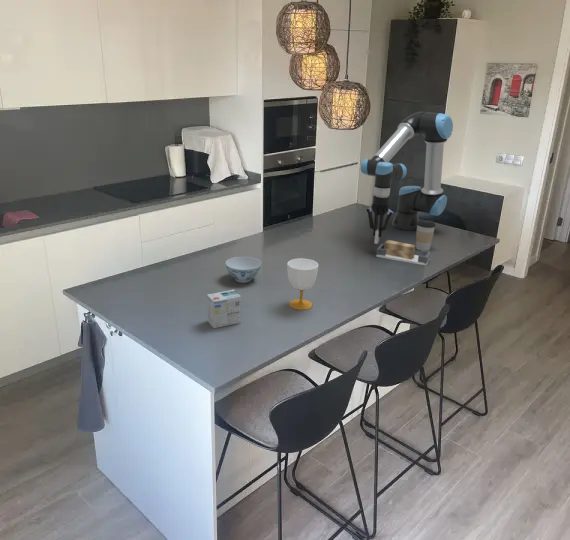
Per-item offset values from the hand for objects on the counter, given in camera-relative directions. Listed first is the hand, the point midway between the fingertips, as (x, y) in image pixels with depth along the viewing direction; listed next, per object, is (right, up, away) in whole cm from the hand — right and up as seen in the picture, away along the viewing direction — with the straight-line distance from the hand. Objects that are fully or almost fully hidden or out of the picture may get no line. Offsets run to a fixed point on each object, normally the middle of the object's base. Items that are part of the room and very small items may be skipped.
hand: (376, 242), depth 263 cm
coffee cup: (+25, -3, +11) cm, 28 cm away
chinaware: (-62, -18, -34) cm, 73 cm away
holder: (+12, -8, -3) cm, 15 cm away
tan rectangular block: (+10, -6, -3) cm, 12 cm away
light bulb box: (-67, -32, -70) cm, 102 cm away
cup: (-39, -27, -55) cm, 72 cm away
